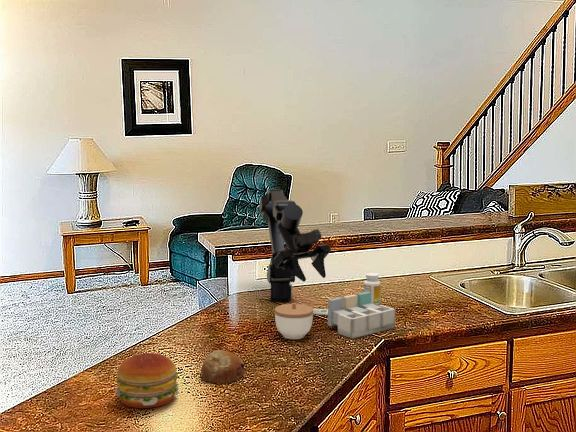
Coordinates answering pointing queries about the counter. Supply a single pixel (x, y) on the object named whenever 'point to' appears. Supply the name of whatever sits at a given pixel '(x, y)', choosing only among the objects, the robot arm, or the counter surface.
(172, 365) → the burger
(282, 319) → the lidded jar
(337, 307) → the drawer slate
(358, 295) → the button teal
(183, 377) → the counter surface
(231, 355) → the bread roll
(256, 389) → the counter surface
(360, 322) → the gray divided box
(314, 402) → the counter surface
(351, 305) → the button tan
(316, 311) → the card
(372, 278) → the supplement bottle
